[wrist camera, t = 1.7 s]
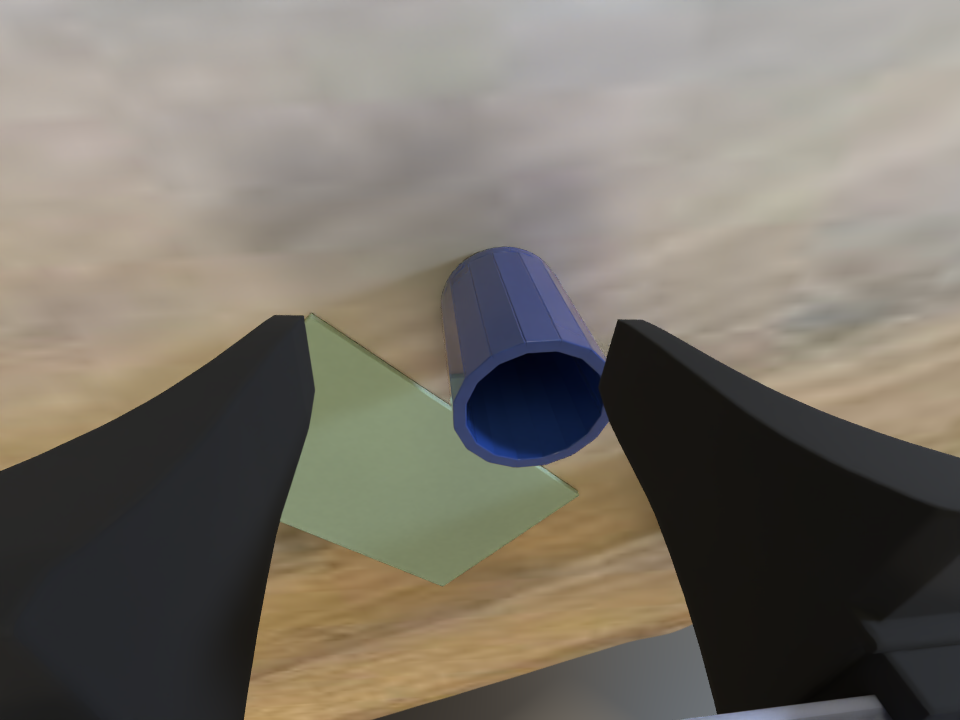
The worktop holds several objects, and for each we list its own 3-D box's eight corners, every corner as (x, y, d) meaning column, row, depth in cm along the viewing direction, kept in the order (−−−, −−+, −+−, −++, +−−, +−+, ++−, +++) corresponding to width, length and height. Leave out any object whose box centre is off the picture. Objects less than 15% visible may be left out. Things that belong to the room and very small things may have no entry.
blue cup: (581, 299, 22) (648, 402, 16) (497, 370, 23) (527, 487, 17) (503, 219, 19) (547, 306, 13) (415, 307, 21) (417, 419, 15)
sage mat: (577, 490, 30) (579, 495, 30) (442, 581, 34) (442, 586, 34) (311, 312, 20) (309, 317, 20) (170, 470, 25) (166, 476, 24)
